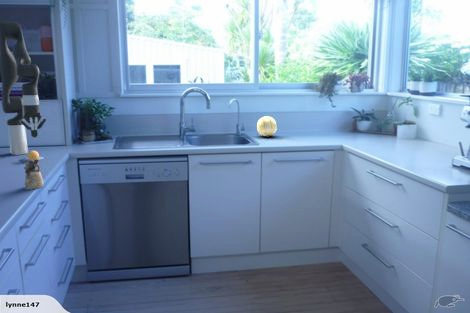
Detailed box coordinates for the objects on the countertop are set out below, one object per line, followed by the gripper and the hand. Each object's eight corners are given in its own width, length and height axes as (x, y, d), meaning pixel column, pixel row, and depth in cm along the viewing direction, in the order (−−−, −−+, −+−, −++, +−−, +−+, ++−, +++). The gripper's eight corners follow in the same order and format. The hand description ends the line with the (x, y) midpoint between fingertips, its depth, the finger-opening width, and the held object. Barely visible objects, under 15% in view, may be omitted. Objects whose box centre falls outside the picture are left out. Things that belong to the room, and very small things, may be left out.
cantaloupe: (271, 138, 299) (271, 117, 296) (253, 137, 307) (253, 116, 304) (280, 135, 312) (280, 115, 309) (262, 134, 319) (262, 114, 316)
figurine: (29, 184, 183) (26, 157, 180) (46, 184, 183) (43, 157, 181) (22, 189, 176) (19, 161, 173) (39, 189, 176) (36, 161, 174)
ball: (25, 150, 229) (27, 158, 227) (35, 147, 231) (38, 155, 228) (28, 155, 233) (30, 163, 231) (38, 152, 235) (41, 160, 233)
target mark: (15, 159, 233) (15, 159, 233) (36, 156, 243) (36, 155, 243) (27, 162, 227) (27, 162, 226) (48, 158, 236) (48, 158, 236)
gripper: (18, 105, 211) (22, 139, 215) (46, 103, 219) (49, 136, 223) (15, 104, 217) (19, 137, 221) (43, 102, 225) (46, 135, 229)
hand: (34, 137), depth 222 cm, fingers closed
